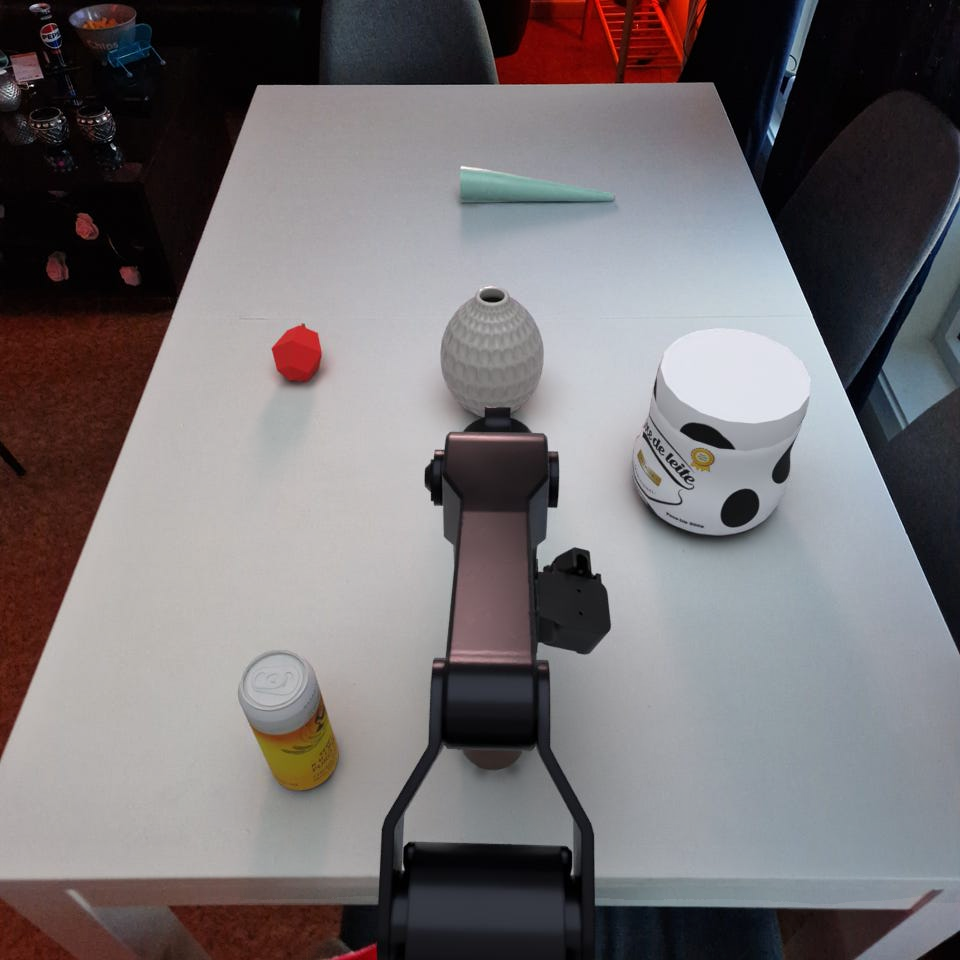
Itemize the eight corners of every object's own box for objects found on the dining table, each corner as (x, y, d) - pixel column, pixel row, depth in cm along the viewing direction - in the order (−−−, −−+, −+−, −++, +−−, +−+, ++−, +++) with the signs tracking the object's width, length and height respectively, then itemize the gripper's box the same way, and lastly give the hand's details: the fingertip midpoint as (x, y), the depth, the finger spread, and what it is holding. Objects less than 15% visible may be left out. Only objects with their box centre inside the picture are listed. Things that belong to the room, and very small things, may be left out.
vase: (559, 415, 106) (569, 307, 94) (472, 449, 102) (470, 341, 90) (509, 360, 114) (511, 253, 101) (426, 390, 109) (418, 283, 97)
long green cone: (619, 178, 137) (459, 175, 138) (615, 209, 141) (460, 205, 142) (617, 163, 141) (461, 160, 142) (614, 193, 145) (462, 190, 146)
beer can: (334, 794, 73) (307, 715, 62) (266, 793, 73) (226, 714, 62) (343, 729, 77) (319, 644, 66) (278, 729, 77) (243, 644, 66)
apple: (305, 365, 105) (318, 311, 108) (258, 365, 107) (272, 313, 110) (327, 391, 111) (339, 340, 114) (283, 391, 113) (295, 341, 116)
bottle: (526, 770, 74) (531, 702, 65) (459, 769, 74) (455, 701, 65) (524, 708, 78) (528, 636, 69) (460, 708, 78) (457, 636, 69)
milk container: (601, 506, 95) (619, 388, 82) (666, 420, 105) (692, 303, 92) (742, 573, 89) (787, 457, 75) (798, 476, 98) (846, 358, 85)
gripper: (623, 694, 51) (598, 793, 63) (598, 475, 64) (581, 591, 76) (445, 692, 52) (452, 791, 63) (455, 474, 64) (460, 590, 76)
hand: (493, 682), depth 69 cm, fingers open, 6 cm apart
